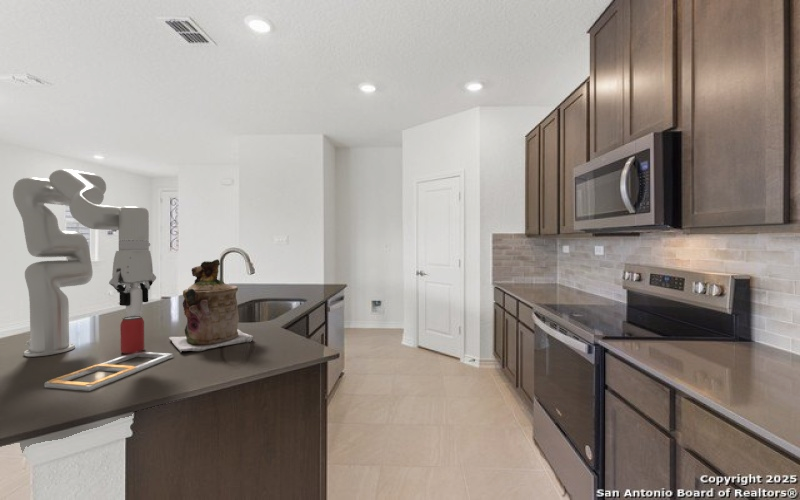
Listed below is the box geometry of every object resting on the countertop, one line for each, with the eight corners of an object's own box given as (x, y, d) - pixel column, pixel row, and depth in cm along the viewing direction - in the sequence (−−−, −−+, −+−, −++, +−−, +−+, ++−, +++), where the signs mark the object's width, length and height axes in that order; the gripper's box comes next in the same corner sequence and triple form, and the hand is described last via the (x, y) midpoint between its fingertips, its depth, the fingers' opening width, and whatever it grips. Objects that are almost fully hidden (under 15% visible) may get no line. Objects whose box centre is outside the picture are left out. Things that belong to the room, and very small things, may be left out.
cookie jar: (234, 330, 151) (234, 257, 150) (255, 342, 133) (255, 259, 132) (167, 340, 134) (166, 258, 134) (180, 356, 116) (179, 261, 116)
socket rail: (44, 387, 91) (44, 381, 91) (136, 354, 117) (136, 350, 117) (89, 390, 88) (89, 385, 88) (173, 357, 115) (173, 353, 115)
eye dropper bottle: (119, 315, 106) (119, 276, 106) (138, 312, 112) (138, 275, 112) (130, 316, 105) (129, 277, 105) (148, 313, 111) (148, 275, 110)
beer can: (131, 354, 117) (131, 319, 117) (115, 353, 118) (115, 318, 118) (149, 349, 123) (148, 315, 123) (134, 347, 125) (133, 314, 124)
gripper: (147, 245, 117) (148, 298, 118) (95, 246, 100) (96, 308, 101) (167, 246, 116) (167, 299, 116) (117, 246, 99) (118, 309, 99)
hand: (134, 303), depth 108 cm, fingers closed on eye dropper bottle, 5 cm apart
